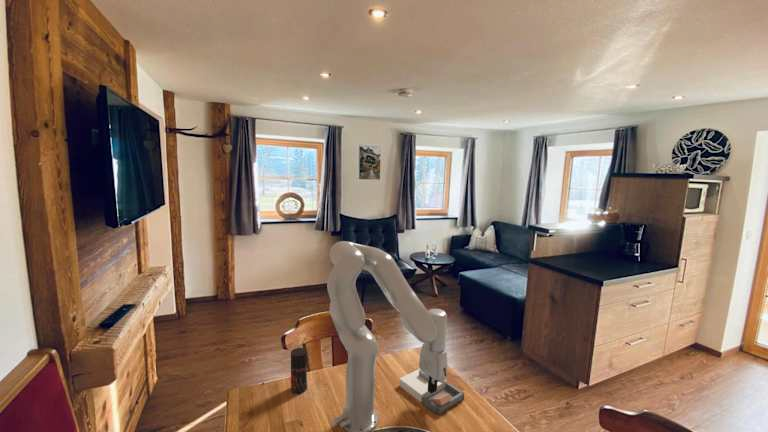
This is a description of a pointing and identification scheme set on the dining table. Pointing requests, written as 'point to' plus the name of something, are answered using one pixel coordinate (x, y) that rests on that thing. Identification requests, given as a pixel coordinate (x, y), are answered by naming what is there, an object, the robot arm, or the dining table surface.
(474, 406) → the dining table surface
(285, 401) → the dining table surface
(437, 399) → the terracotta tile
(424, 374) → the slate tile
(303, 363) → the deodorant
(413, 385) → the board
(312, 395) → the dining table surface
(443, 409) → the tray
